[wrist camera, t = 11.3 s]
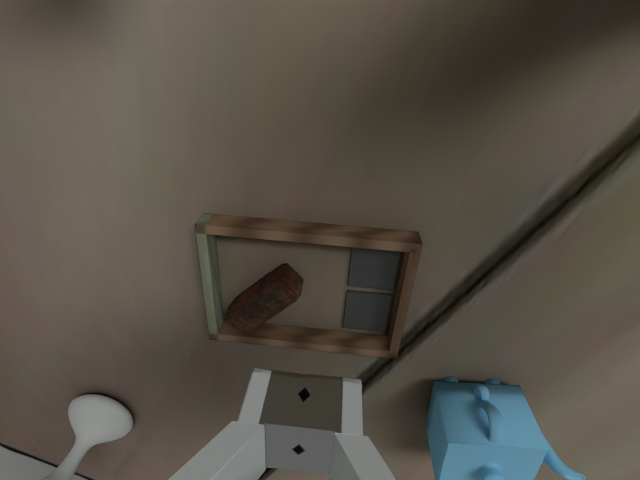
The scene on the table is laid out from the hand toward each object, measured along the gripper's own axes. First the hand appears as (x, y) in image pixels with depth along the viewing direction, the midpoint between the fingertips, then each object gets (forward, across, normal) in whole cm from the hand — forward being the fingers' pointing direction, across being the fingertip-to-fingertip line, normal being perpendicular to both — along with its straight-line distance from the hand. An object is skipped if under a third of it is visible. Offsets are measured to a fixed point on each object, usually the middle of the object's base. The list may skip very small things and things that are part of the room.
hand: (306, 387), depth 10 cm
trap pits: (+33, -6, +21) cm, 40 cm away
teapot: (+33, -26, +40) cm, 58 cm away
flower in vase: (+33, +38, +53) cm, 73 cm away
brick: (+34, +8, +23) cm, 41 cm away
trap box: (+33, +3, +21) cm, 39 cm away
